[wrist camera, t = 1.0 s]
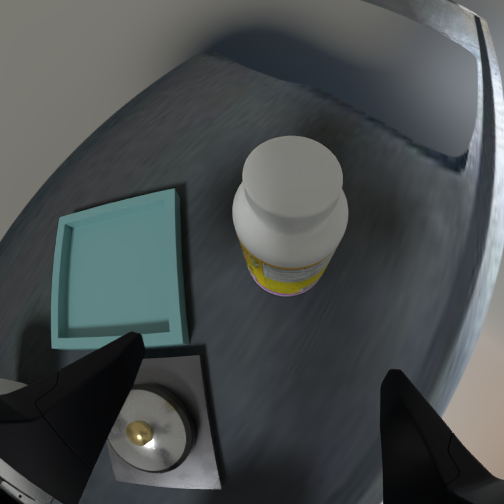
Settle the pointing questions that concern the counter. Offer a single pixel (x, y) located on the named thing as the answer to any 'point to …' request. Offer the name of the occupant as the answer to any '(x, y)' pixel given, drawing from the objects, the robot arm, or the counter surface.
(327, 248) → the supplement bottle
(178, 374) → the block
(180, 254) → the tray
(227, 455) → the counter surface
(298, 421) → the counter surface
